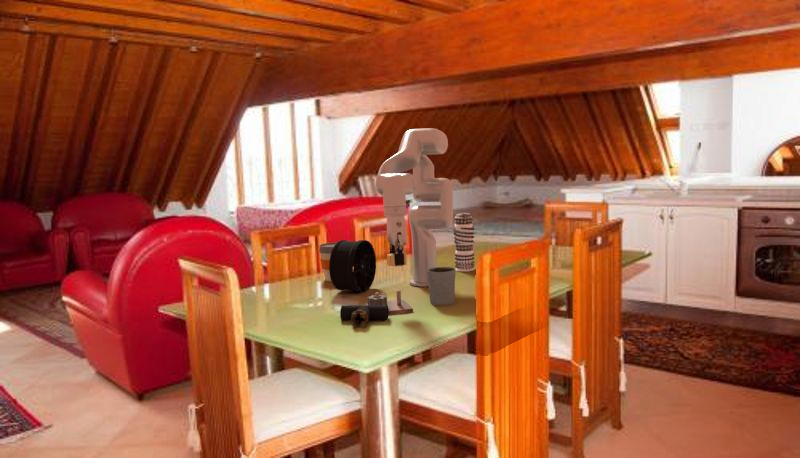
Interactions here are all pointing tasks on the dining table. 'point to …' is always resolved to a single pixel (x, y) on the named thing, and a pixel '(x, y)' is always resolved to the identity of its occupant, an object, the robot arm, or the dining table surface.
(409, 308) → the board
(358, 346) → the dining table surface
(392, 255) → the ochre gear
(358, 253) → the car wheel rim
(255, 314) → the dining table surface
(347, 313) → the pipe connector
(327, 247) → the reusable coffee cup
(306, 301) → the dining table surface
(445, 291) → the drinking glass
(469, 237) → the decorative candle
